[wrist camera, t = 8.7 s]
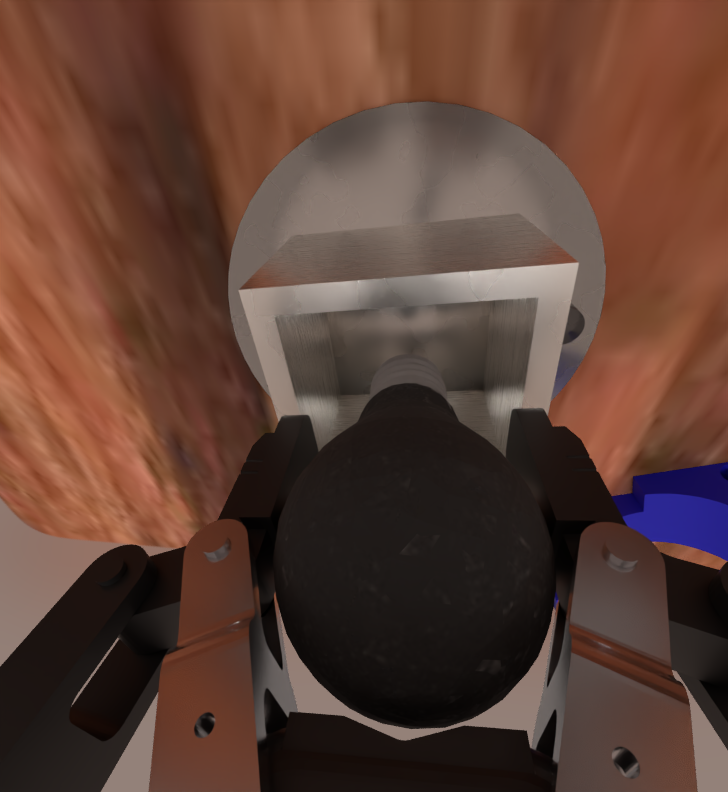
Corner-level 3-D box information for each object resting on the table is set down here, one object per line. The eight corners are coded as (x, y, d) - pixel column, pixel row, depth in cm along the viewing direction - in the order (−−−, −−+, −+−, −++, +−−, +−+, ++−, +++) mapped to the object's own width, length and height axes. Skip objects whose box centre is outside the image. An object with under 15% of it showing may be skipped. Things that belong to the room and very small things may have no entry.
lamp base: (182, 135, 14) (36, 144, 9) (648, 68, 12) (856, 23, 7) (281, 448, 24) (241, 552, 18) (558, 443, 21) (613, 560, 16)
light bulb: (404, 261, 12) (401, 585, 4) (521, 369, 13) (697, 746, 5) (300, 374, 14) (167, 702, 6) (409, 451, 16) (412, 783, 8)
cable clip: (756, 455, 21) (862, 557, 16) (741, 507, 23) (829, 610, 18) (524, 491, 24) (553, 585, 19) (531, 533, 26) (560, 626, 22)
